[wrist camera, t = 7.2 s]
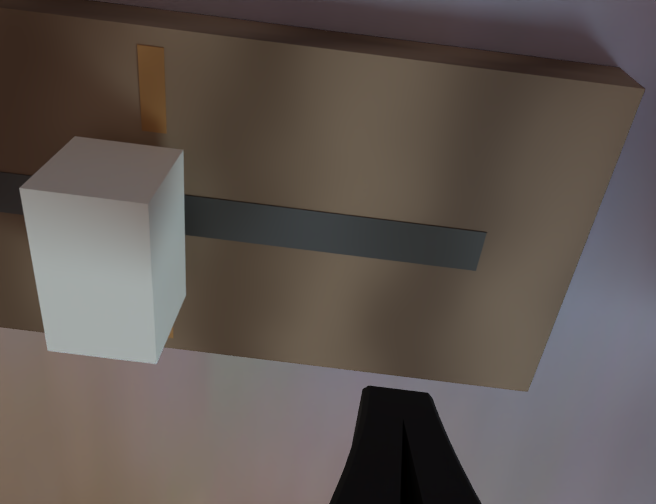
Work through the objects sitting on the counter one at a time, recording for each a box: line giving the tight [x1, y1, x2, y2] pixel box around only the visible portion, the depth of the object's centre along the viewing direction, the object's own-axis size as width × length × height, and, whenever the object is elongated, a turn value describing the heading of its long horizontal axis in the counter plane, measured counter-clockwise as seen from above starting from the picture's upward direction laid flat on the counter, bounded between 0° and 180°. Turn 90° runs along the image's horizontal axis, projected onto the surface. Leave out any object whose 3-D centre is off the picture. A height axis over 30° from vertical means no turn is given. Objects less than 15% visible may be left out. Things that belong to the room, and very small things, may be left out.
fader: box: [19, 136, 186, 364], centre depth 17 cm, size 3×5×4 cm, turn 174°
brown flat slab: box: [0, 0, 645, 392], centre depth 20 cm, size 20×11×2 cm, turn 84°
